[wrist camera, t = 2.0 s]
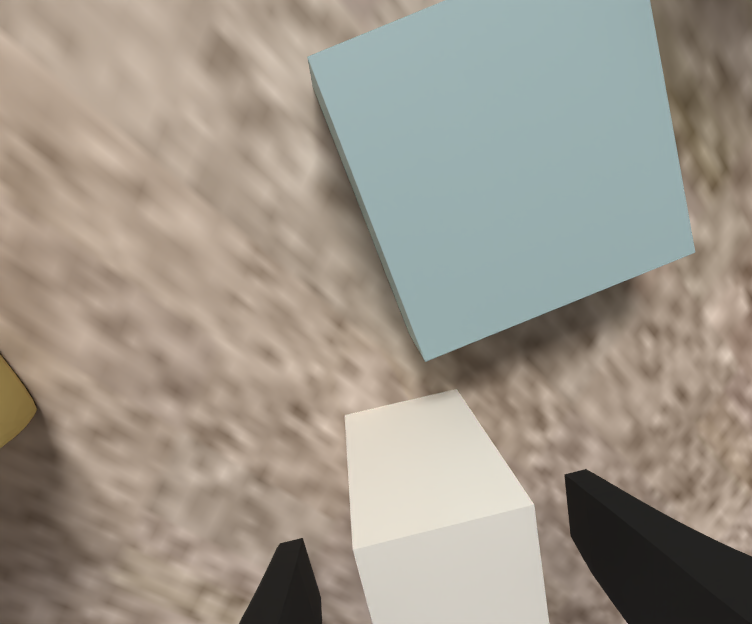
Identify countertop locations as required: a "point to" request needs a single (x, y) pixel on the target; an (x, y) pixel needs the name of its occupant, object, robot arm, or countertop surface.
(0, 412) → the cheese
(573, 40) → the light blue block
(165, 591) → the countertop surface
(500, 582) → the cream block
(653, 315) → the countertop surface
